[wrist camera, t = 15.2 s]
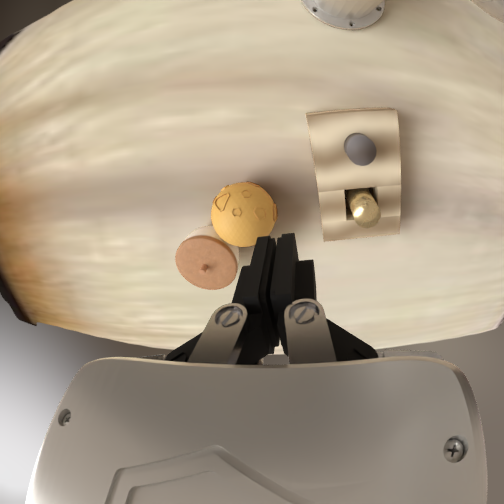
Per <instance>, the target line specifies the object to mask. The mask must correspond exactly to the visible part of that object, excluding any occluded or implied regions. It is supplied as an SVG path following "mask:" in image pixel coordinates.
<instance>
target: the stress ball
mask: <svg viewBox="0 0 504 504" xmlns="http://www.w3.org/2000/svg"><path fill="white" fill-rule="evenodd" d="M211 220H212V224H213V227H214V229H215V231H216V233H217V234H218V235H219V236H220V237H221V238H222V239H223V240H224V241H226V242H227V243H229V244H231V245H234V246H239V247H248V246H253V245H255V244H256V240H257V237H262V236H268V235H269V234H270V232H271V231H272V229H273V227H274V224H275V222H276V220H277V207H276V204H275V203H273V200H272V198H271V197H270V196H269V194H268V193H267V192H266V191H265V190H264V189H262V188H261V187H260V185H257V184H255V183H252V182H246V183H236V184H232V185H230V186H229V185H227V186H226V187H224V188H223V189H221V192H220V193H219V194H218V196H216V197H215V199H214V201H213V206H212V210H211Z"/></svg>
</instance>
